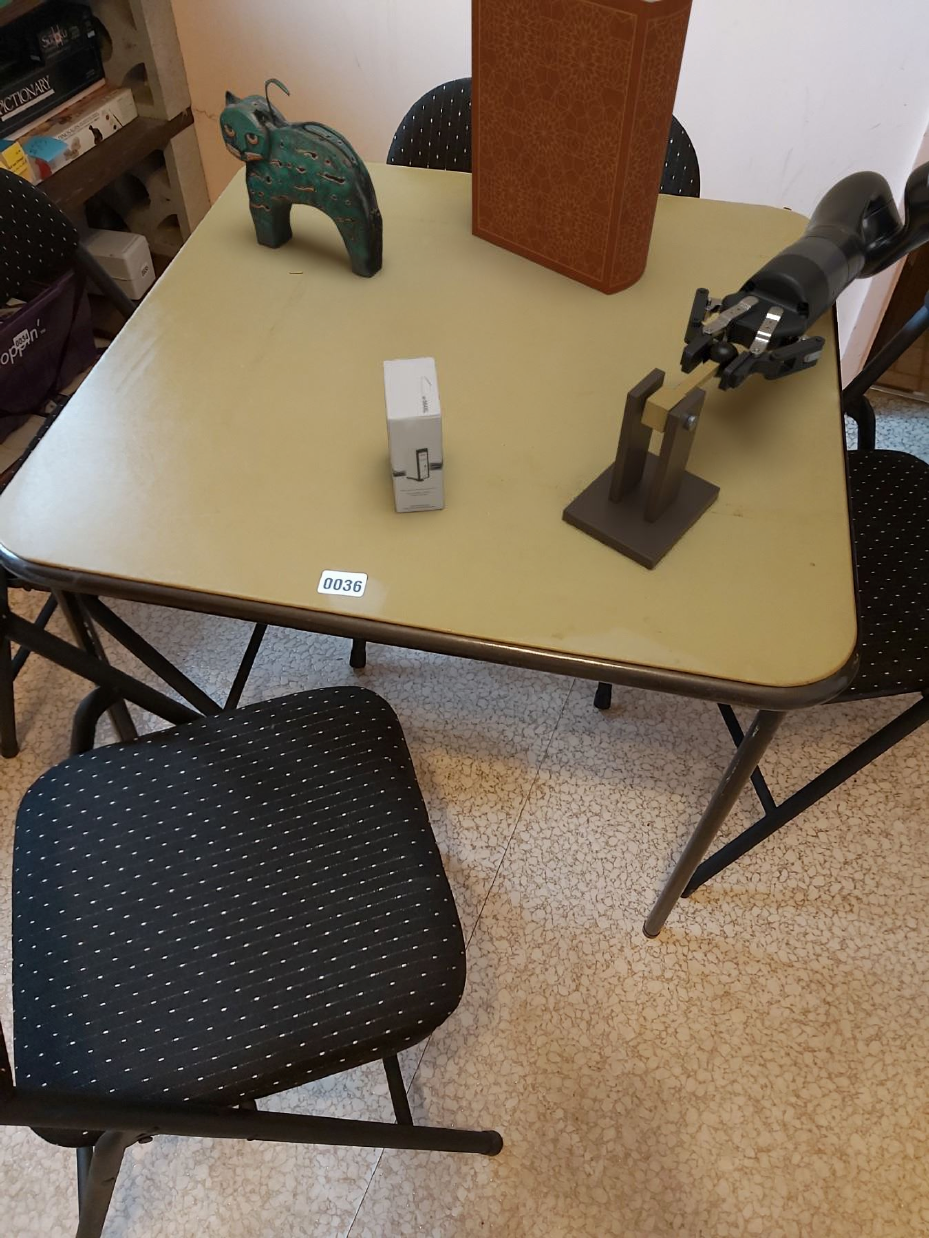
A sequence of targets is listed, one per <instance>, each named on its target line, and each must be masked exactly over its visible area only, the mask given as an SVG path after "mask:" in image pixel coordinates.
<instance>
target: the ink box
mask: <svg viewBox="0 0 929 1238" xmlns="http://www.w3.org/2000/svg"><path fill="white" fill-rule="evenodd" d="M382 371H383V391H384V393H383V394H384V404H385V405H384V407H385V409H384V410H385V421H386V422H385V423H386V432H387V433H386V434H387V443H388V453H389V462H390V471H391V478H392V487H393V496H394V497H393V498H394V505H395V506H394V507H395V511H396V512H397V513H410V512H411V513H412V512H424V511H435V510H444V509H445V488H444V487H445V484H444V481H445V479H444V445H443V443H444V441H443V424H442V423H443V421H442V419H443V418H442V417H443V415H442V414H443V413H442V405H441V401H440V400H441V399H440V393H439V392H440V391H439V384H438V377H437V376H438V375H437V368H436V359H435V358H434V356H431V355H430V356H420V357H419V356H418V357H406V358H405V357H403V358H395V359H386V360H383V361H382Z"/></svg>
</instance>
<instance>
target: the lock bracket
mask: <svg viewBox="0 0 929 1238" xmlns="http://www.w3.org/2000/svg"><path fill="white" fill-rule="evenodd" d="M665 376H666V371H664V370H662V369H660V368H658V367H654V369H652V370H651V371H650V372H649V373H648V374H647V375H646V376H644V377H643V378H642V379H641V380H640V381H639V382H638V383H637V384H636V385H634V387H632V388H631V389H630V390H629V391H628V392H627V394H626V400H625V405H624V409H623V415H622V421H621V427H620V432H619V437H618V438H619V439H618V443H617V448H616V455H615V460H614V461H613V462H612V463H611V464H610V465H609V466H608V467H607V468H606V469H605V470H603V471H602V472H601V473H600V475H598V476H597V477H596V478H595V479H594V480H593V481H592V482H591V483H590V484H589V485H587V487H586V488H585V489H583V490H582V491H581V492H580V493H579V494H578V495H577V496H576V497H575V498H574V499H573V500H571V502H570V503H568V504H567V506H565V507H564V509H563V510H562V517H561V519H562V520H563V521H565V522H566V523H569V524H570V525H571V526H574V527H575V528H577V529H579V530H580V531H582V532H584V533H586V534H587V535H589V536H591V537H593V538H595V539H596V540H598V541H600V542H601V543H603V544H604V545H607V546H609V547H610V548H611V549H614V550H615V551H617V552H618V553H620V554H622V555H624V556H626V557H627V558H629V559H631V560H633V561H634V562H636V563H638V564H639V565H641V566H643V567H644V568H647V569H648V570H650V571H651V570H653V569H654V568H655V566H656V565H658V564H659V562H660V561H661V560H662V559H663V558H664V557H665V555H666V554H667V553H668V552H669V551H670V550H671V549H672V548H673V547H674V546H675V545H676V543H678V542H679V540H680V539H681V538H682V537H683V536H684V535H685V534H686V533H687V531H688V530H689V529H690V528H691V527H692V526H693V525H694V524H695V523H696V522H697V520H699V518H700V517H702V515H703V514H704V513H705V512H706V511H707V510H708V509H709V508H710V506H711V505H712V504H713V503H714V502H715V501H716V500H717V499H718V498H719V495H720V492H721V487H719V486H718V485H716V484H714V483H711V482H710V481H708V480H706V479H704V478H702V477H700V476H698V475H697V474H694V473H692V472H690V471H688V470H686V469H687V464H688V462H689V458H690V455H691V450H692V446H693V443H694V440H695V436H696V432H697V429H698V425H699V421H700V417H701V414H702V410H703V407H704V402H705V399H706V395H707V390H705V389H703V388H702V387H700V388H699V387H696V388H695V389H694V390H693V391H692V392H691V393H690V394H689V395H687V396H686V397H685V398H684V399H683V400H682V401H681V402H680V403H679V404H678V405H677V406H676V407H675V408H674V409H673V410H672V411H671V412H670V413H669V415H668V420H667V424H666V428H665V432H664V433H663V436H662V441H661V444H660V445H661V446H660V449H659V454H658V455H657V454H656V453H652V451H649V450H650V449H649V448H650V444H651V439H652V435H653V431H654V429H653V428H651V427H649V426H647V425H645V424H643V423H641V421H642V416H643V412H644V408H645V404H646V400H647V399H648V398H649V397H650V396H651V395H653V394H654V393H655V392H656V391H657V390H659V389H660V388H661V387H662V386H663V385H664V382H665Z"/></svg>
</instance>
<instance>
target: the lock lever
mask: <svg viewBox="0 0 929 1238" xmlns="http://www.w3.org/2000/svg"><path fill="white" fill-rule="evenodd" d="M739 355H740V353H739V351H738V348H737V347H736V346H735V344H731V343H730V342H726V341H719V342H715V343H713V344H712V345H710V346H709V347H708V348H707V349H706V351H705V353H704V355H703V362H702V365H701V366H700V367H698V368H697V369H695V371H694V372H693V373H692V374H691V373H690V374H689V376H687V378H685V379H684V380H683V381H682V382H681V383H680V384H679V385H677V386H676V387H675V388H671V387H669V386H667V385H665V384H663V386H662V387H661V388H660V389H659V390H657V391H656V392H655V393H654V394H653V395H651V396H650V397H649V398H648V399H647V400H646V404H645V408H644V412H643V416H642V421H641V423H643V424H645V425H647V426H649V427H651V428H653V430H655V431H657V432H659V433H660V434H664V432H665V428H666V424H667V420H668V415H669V413H670V412H671V411H672V410H673V409H674V408H675V407H676V406H677V405H678V404H679V403H680V402H681V401H682V400H683V399H684V398H685V397H686V396H687V395H689V394H690V393H691V392H692V391H693V390H694V389H695V388H696V387H699V388H703V386H704V385H705V384H706V383H708V382H709V381H710V380H711V379H712V378H716V379H721V376H722V373H723V371H724V369H725V368H726V367H727V366H728V365H729V364H730V363H731V362H732V361H733V360H734V359H735V358H737V357H738V356H739Z"/></svg>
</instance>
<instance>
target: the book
mask: <svg viewBox="0 0 929 1238" xmlns="http://www.w3.org/2000/svg"><path fill="white" fill-rule="evenodd" d="M693 2H694V0H470V8H471V9H470V11H471V12H470V14H471V15H470V17H471V19H470V20H471V22H470V23H471V24H470V25H471V26H470V33H471V36H470V40H471V47H470V49H471V50H470V51H471V56H470V57H471V59H470V60H471V64H470V65H471V66H470V67H471V75H470V76H471V235H473V236H475V237H477V238H479V239H482V240H484V241H486V242H489V243H491V244H493V245H495V246H498V247H499V248H502V249H504V250H507V251H509V252H511V253H513V254H515V255H517V256H520V257H522V258H525V259H527V260H528V261H531V262H534V263H536V264H538V265H540V266H543V267H545V268H547V269H550V270H551V271H554V272H556V273H558V274H561V275H563V276H565V277H567V278H569V279H571V280H573V281H576V282H578V283H581V284H583V285H585V286H587V287H590V288H592V289H594V290H595V291H596V290H597V291H599V292H601V293H603V294H606V295H608V296H610V295H613V294H616V293H620V292H622V291H624V290H627V289H628V288H631V287H632V286H633V285H635V284H636V283H637V282H638V281H639V280H640V279H641V278H642V277H643V275H644V273H645V270H646V267H647V261H648V256H649V250H650V246H651V238H652V234H653V227H654V222H655V221H654V220H655V217H656V211H657V204H658V199H659V193H660V187H661V184H662V183H661V182H662V176H663V171H664V165H665V160H666V156H667V155H666V154H667V148H668V142H669V137H670V131H671V126H672V120H673V116H674V115H673V114H674V109H675V102H676V98H677V91H678V87H679V81H680V75H681V69H682V63H683V58H684V51H685V46H686V41H687V35H688V30H689V24H690V18H691V12H692V7H693Z"/></svg>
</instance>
